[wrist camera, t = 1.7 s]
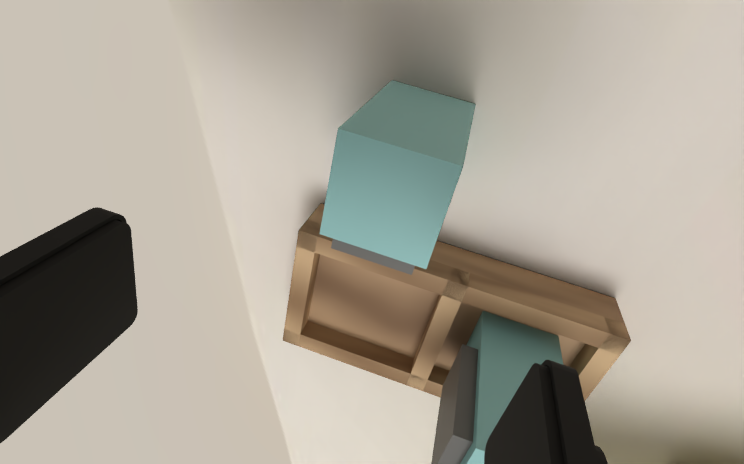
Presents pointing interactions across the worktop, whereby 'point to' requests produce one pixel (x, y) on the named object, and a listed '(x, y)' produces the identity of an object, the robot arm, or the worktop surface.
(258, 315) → the worktop surface
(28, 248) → the robot arm
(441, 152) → the teal rectangular block
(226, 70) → the worktop surface
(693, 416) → the worktop surface
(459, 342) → the divided wooden tray
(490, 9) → the worktop surface
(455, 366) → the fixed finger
